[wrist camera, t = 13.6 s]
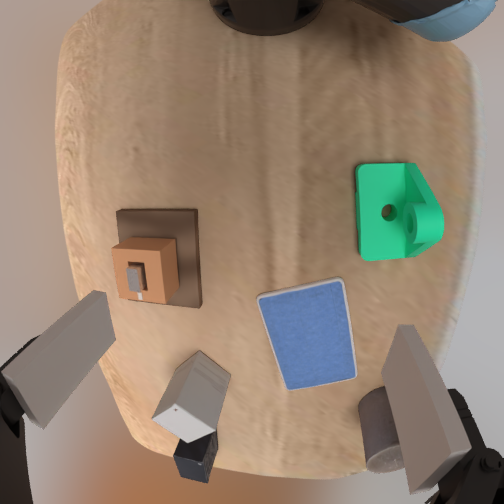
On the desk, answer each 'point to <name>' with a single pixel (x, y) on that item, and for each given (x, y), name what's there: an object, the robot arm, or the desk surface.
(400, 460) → the pillar candle
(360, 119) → the desk surface
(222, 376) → the supplement box
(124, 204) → the desk surface
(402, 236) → the camera mount
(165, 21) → the desk surface
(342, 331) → the blue felt tray
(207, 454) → the small box
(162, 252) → the tan square frame
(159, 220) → the base
